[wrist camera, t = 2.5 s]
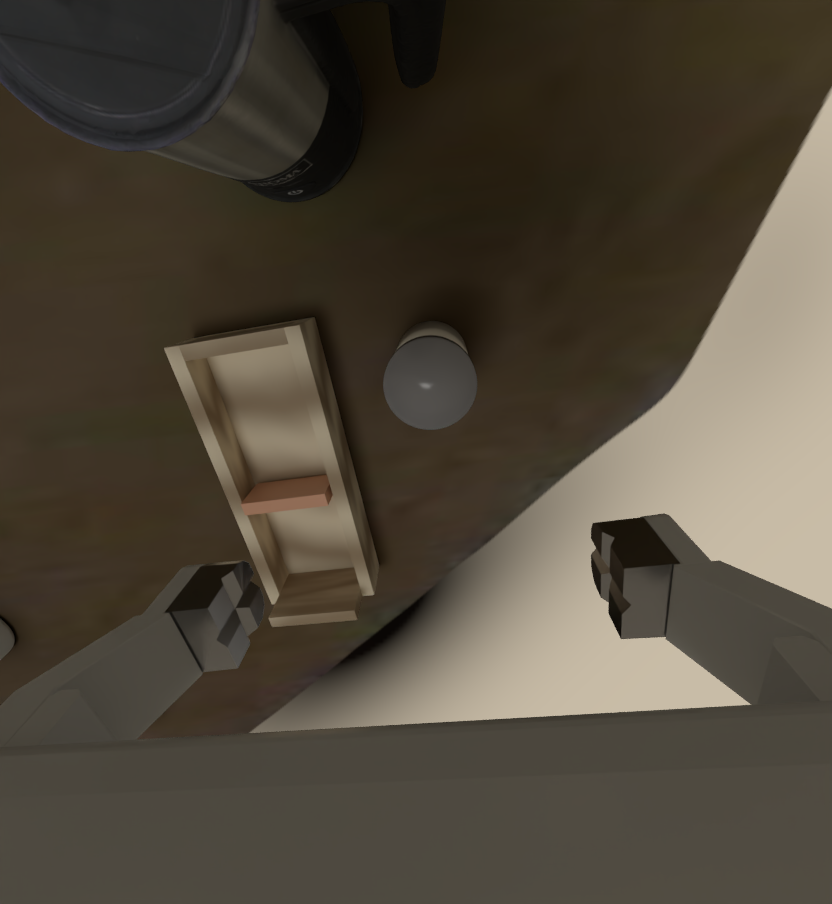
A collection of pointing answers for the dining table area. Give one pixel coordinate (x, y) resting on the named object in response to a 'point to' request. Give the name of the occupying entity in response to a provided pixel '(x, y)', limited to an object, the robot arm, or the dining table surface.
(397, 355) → the cream jar
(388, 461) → the dining table surface
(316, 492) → the block
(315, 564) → the wooden tray
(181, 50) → the milk frother
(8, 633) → the bath foam
